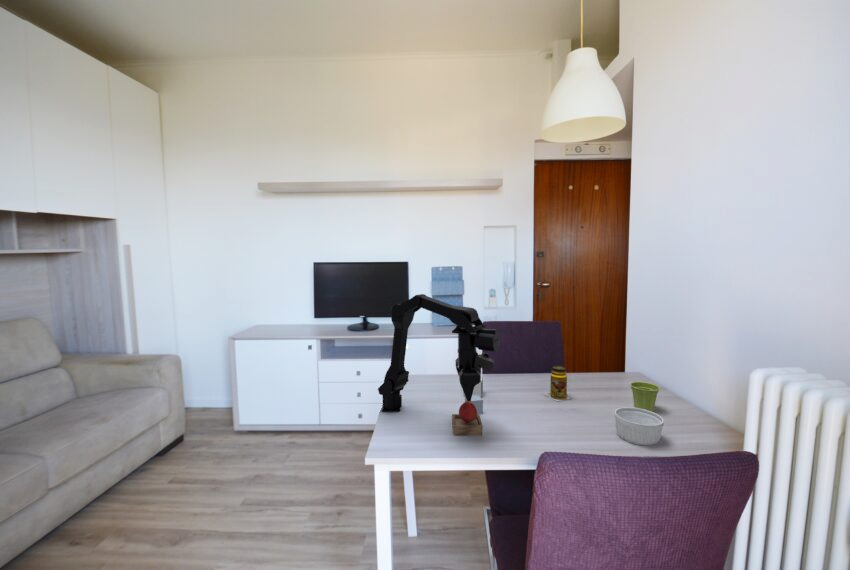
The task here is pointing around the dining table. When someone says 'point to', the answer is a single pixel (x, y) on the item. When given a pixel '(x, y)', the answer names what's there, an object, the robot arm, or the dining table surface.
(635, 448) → the dining table surface
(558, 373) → the condiment
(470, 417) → the onion
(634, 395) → the plant pot
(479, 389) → the medicine bottle
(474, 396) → the slate cube
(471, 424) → the wooden square tray
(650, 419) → the ramekin
